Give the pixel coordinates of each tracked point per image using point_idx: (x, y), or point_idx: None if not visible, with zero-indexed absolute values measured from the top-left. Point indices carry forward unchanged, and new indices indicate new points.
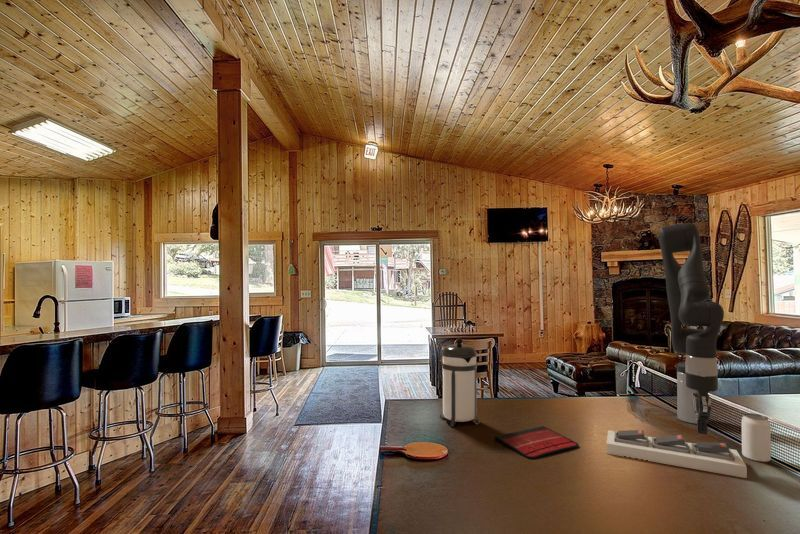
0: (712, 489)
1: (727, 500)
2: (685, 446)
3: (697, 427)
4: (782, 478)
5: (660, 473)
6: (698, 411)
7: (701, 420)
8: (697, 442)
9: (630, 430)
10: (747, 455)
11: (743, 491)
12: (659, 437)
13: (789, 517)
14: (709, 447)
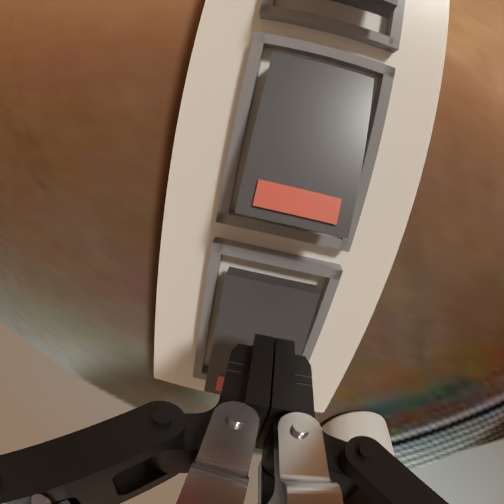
0: (39, 210)
1: (3, 227)
2: None
3: (264, 355)
4: None
5: (97, 60)
6: (106, 468)
7: (202, 419)
8: (303, 298)
9: None
10: (341, 420)
11: (65, 295)
12: (365, 95)
13: (4, 320)
14: (219, 326)
